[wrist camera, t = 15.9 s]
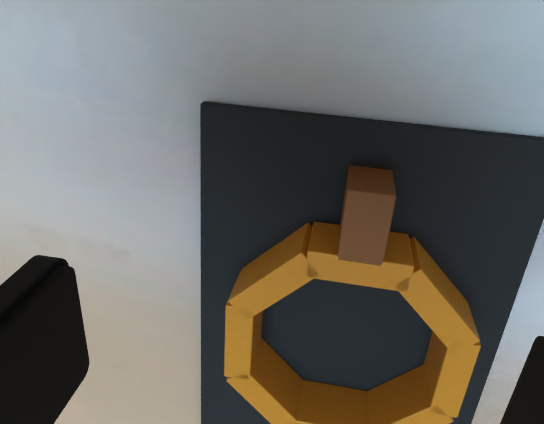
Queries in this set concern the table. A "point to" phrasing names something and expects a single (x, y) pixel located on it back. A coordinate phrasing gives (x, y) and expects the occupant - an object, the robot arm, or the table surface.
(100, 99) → the table surface
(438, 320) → the ring
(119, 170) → the table surface
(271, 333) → the mat
